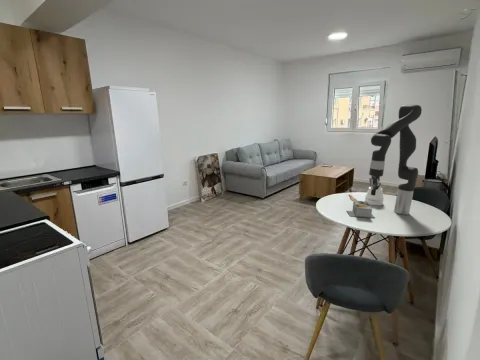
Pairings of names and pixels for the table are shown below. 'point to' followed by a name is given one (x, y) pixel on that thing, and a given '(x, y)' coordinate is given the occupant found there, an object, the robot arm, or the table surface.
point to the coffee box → (362, 209)
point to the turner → (352, 198)
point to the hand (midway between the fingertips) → (372, 195)
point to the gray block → (352, 214)
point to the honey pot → (374, 197)
